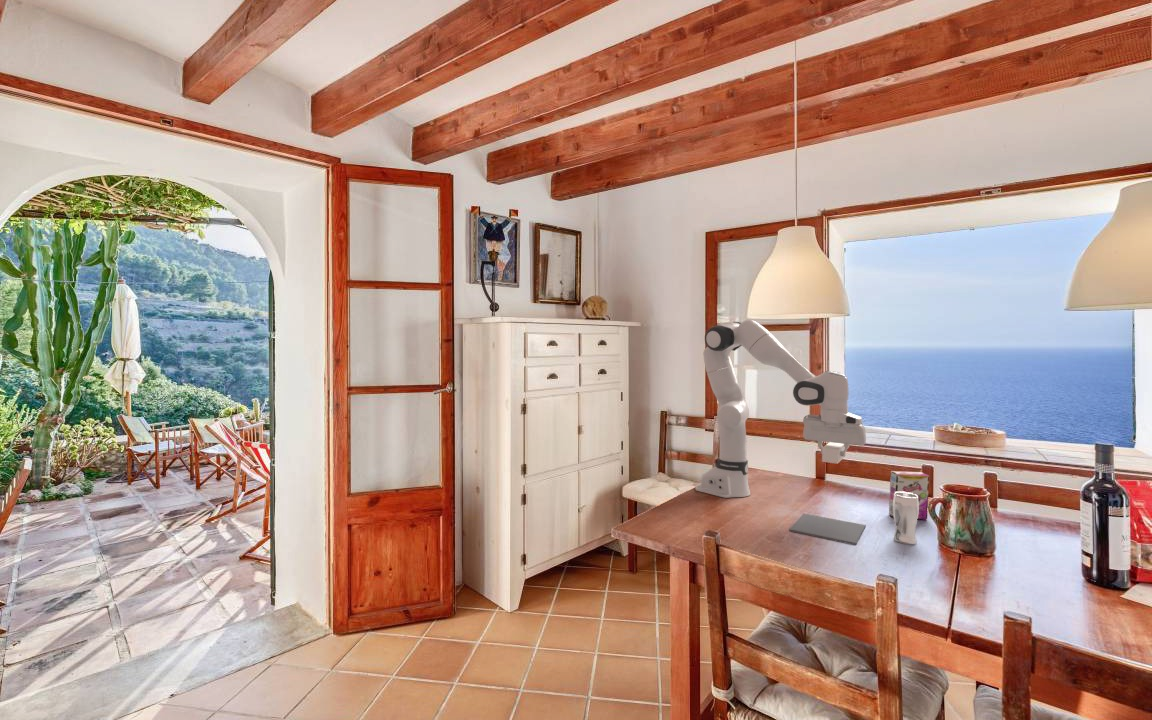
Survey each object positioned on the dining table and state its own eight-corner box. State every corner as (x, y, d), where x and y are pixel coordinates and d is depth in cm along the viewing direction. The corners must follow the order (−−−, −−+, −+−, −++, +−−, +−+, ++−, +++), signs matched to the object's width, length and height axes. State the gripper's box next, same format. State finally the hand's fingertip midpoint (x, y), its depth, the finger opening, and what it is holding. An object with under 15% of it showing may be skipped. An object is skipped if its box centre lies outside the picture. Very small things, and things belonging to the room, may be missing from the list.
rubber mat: (789, 530, 174) (789, 529, 174) (803, 515, 190) (803, 513, 190) (856, 544, 162) (856, 543, 162) (865, 526, 178) (865, 525, 178)
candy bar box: (895, 519, 185) (896, 474, 185) (888, 514, 190) (889, 470, 190) (928, 520, 184) (929, 475, 184) (920, 515, 189) (921, 471, 188)
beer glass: (908, 546, 160) (909, 498, 160) (887, 538, 167) (888, 492, 166) (923, 543, 163) (924, 496, 162) (901, 535, 169) (903, 490, 169)
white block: (830, 454, 194) (822, 461, 183) (830, 441, 194) (822, 447, 183) (844, 456, 191) (837, 463, 180) (845, 443, 191) (838, 449, 180)
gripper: (801, 414, 189) (800, 452, 190) (864, 420, 177) (863, 460, 177) (805, 413, 194) (804, 449, 195) (867, 418, 182) (866, 457, 182)
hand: (833, 454), depth 186 cm, fingers closed on white block, 5 cm apart
